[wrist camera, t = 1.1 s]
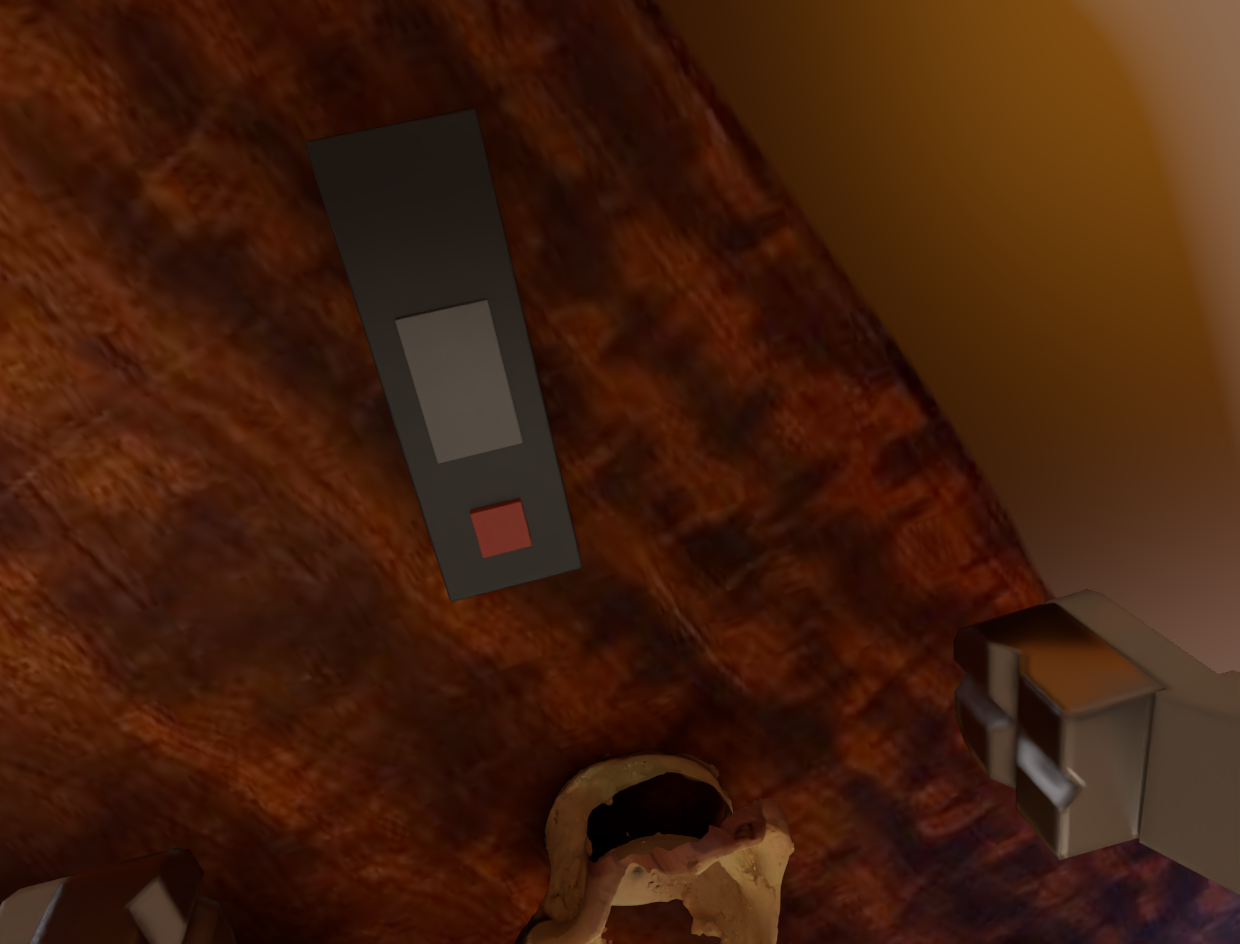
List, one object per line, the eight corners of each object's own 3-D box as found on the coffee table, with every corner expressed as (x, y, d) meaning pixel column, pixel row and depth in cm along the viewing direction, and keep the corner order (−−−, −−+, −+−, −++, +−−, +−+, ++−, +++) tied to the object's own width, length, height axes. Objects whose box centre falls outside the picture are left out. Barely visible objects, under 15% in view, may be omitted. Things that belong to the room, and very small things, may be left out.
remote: (317, 140, 23) (302, 142, 20) (473, 109, 23) (476, 107, 21) (450, 567, 29) (450, 606, 26) (572, 535, 29) (584, 572, 27)
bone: (698, 671, 32) (775, 836, 25) (804, 813, 37) (897, 991, 29) (448, 832, 33) (449, 1041, 26) (580, 954, 37) (614, 1164, 30)
